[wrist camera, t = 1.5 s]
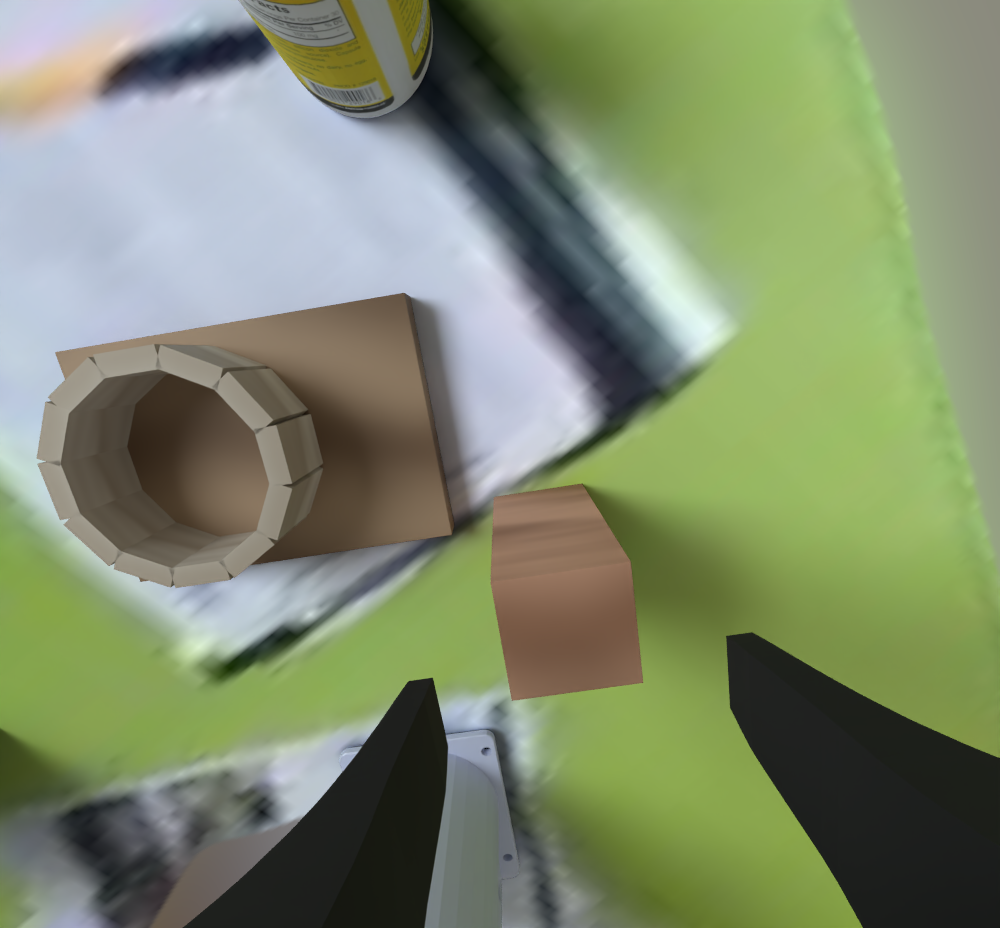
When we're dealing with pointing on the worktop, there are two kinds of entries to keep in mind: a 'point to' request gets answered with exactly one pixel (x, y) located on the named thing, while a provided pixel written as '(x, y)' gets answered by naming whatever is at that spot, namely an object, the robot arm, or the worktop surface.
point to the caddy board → (247, 443)
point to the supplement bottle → (351, 49)
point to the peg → (562, 595)
